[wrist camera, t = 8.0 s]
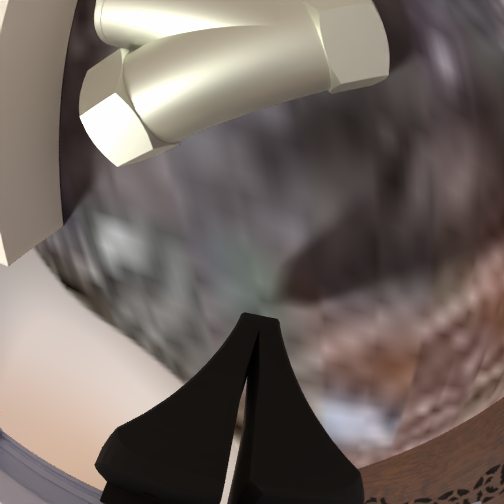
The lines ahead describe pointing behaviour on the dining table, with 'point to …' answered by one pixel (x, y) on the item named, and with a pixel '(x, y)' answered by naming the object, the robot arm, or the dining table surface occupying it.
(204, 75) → the pipe fitting
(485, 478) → the tissue box cover
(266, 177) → the dining table surface
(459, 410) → the dining table surface
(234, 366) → the robot arm
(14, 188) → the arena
